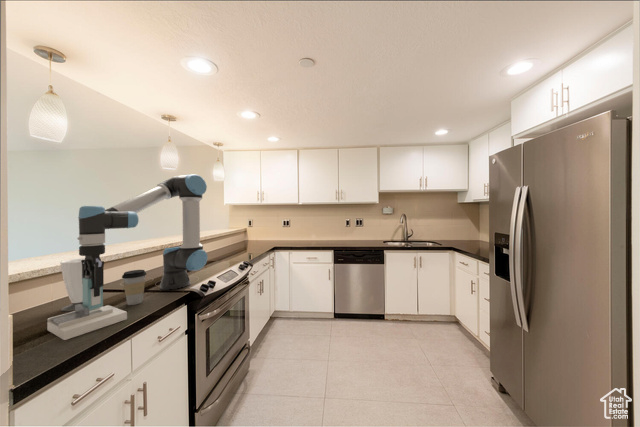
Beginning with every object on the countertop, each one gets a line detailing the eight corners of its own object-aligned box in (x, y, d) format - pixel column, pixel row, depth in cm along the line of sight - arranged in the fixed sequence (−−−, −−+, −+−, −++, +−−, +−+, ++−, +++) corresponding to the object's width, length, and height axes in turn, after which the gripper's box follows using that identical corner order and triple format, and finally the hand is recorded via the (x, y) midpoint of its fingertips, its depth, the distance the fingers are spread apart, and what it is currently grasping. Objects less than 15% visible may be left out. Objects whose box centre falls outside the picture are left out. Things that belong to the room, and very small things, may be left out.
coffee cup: (133, 307, 109) (132, 274, 109) (116, 305, 111) (116, 273, 111) (151, 299, 119) (151, 269, 119) (136, 298, 121) (135, 269, 121)
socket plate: (108, 312, 104) (108, 301, 104) (127, 319, 97) (126, 308, 97) (47, 330, 88) (47, 318, 88) (64, 340, 81) (64, 327, 81)
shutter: (79, 313, 95) (79, 303, 95) (89, 317, 91) (89, 307, 91) (51, 321, 88) (51, 311, 88) (60, 326, 84) (60, 315, 84)
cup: (52, 312, 105) (52, 263, 105) (74, 302, 116) (73, 258, 116) (83, 310, 107) (83, 261, 107) (101, 300, 118) (101, 257, 118)
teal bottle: (82, 308, 94) (82, 270, 94) (97, 304, 98) (97, 268, 98) (87, 310, 92) (87, 271, 92) (102, 306, 96) (102, 269, 96)
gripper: (70, 244, 96) (70, 302, 96) (89, 247, 88) (90, 310, 88) (94, 242, 103) (95, 297, 103) (114, 244, 95) (115, 303, 94)
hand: (92, 303), depth 95 cm, fingers closed on teal bottle, 5 cm apart
